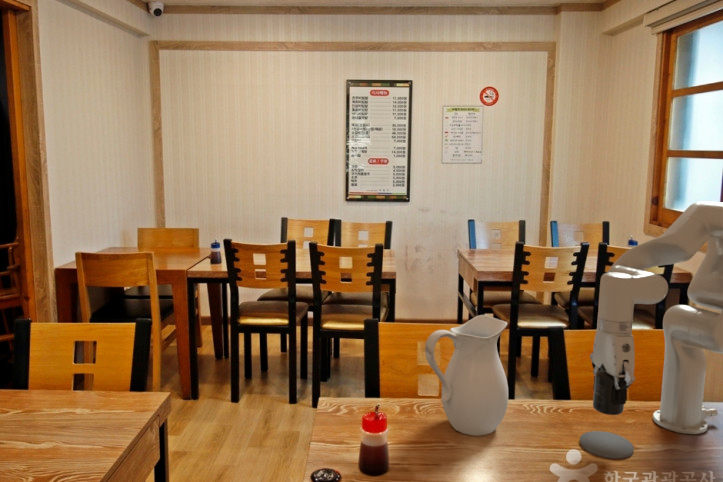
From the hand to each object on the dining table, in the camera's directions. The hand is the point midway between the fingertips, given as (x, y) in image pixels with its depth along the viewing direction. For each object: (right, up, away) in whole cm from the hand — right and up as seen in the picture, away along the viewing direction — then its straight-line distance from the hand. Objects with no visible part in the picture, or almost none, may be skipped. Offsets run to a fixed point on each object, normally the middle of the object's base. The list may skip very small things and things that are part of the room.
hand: (609, 396), depth 139 cm
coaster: (0, -12, +2) cm, 13 cm away
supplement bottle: (0, -3, 0) cm, 3 cm away
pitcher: (-33, -11, +11) cm, 37 cm away
